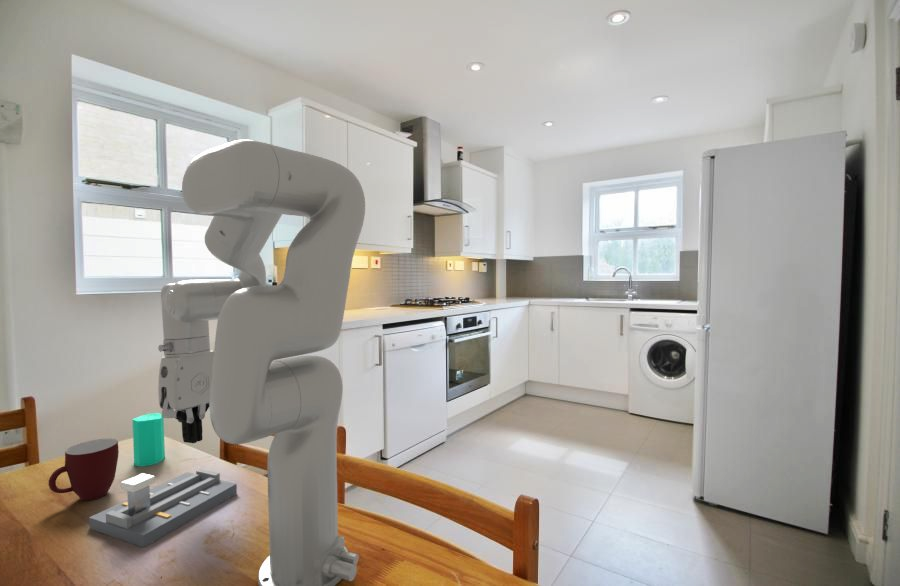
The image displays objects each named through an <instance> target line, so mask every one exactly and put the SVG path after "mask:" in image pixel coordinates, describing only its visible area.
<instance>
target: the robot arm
mask: <svg viewBox="0 0 900 586" xmlns="http://www.w3.org/2000/svg"><path fill="white" fill-rule="evenodd" d="M181 193H182V198H183V200H184V203H185V204H186V206H187V207H188V209H189V210H191V211H192V212H194V213H196V214H198V215H199V214H200V215H204V216H213V217H212V219H211V222H210V223H209V225H208V228H207V230H206V232H205V233H204V234H205V235H204V245H205V246H206V248H207V250H208V252H209V253H210V254H211V255H212V256H214V258H216V259H217V260H219V261H221V262H222V263H224V264H227V265H228V266H230V267H232V268H235V269H237V270H239V271H240V273H239V274H238V276H237V277H236V278H234V279H233V278H231V279H230V278H226V279H224V278H222V279H188V280H186V279H185V280H180V281H176V282H172V283H167V284H164V285H163V286H162V288H161V291H160V299H161V301H160V303H161V317H162V331H163V340H162V341H163V343H162V344H159V345H158V351H159V352H160V353H163V354H164V356H162V357H161V360H160V365H159V371H158V389H157V390H158V392H157V393H158V394H157V395H158V403H159V408H160V409H162V410H161V411H162V412H161V414H162V417H163V418H164V419H176V420H177V421H178V422H179V423H181V432H182V433H181V435H182V440H183V442H184V443H189V444H196V443H197V442H201V441H203V420H204V419H205V417H206V413H207V411H208V410H209V417H210V418H209V419H210V423H211V426H212V429H213V431H214V432H215V434H216V436H217V437H218V438H219V439H220V440H221V441H223V442H225V443H227V444H231V445H242V444H243V445H244V444H247V443H251V442H255V441H258V440H262V439H266V438H268V437H270V436H273V435H274V436H273V438H272V440H271V443H270V446H269V450H268V453H267V463H266V464H267V465H266V467H267V470H266V472H267V497H268V498H267V499H268V501H267V503H268V504H267V505H268V506H267V507H268V536H269V537H268V540H269V546H268V547H269V556H266V559H265V560H264V561H262V563H261V566H260V567H259V570H258V575H257V576H258V577H257V582H258V586H336V585H337V584H338V583H340V582H341V580H345V581H348V582H353V580H355V578H356V575H357V572H358V566H357V564H358V562H359V558H360V556H359V555H360V554H358V553H355V552H351V551H348V548H347V547H346V546H345V537H344V536H340V535H339V524H338V523H339V520H338V517H339V515H338V513H339V511H338V472H337V471H338V470H337V469H338V466H337V465H338V464H337V463H338V462H337V461H338V457H337V456H338V454H337V452H338V451H337V448H338V447H337V446H338V445H337V441H338V439H337V437H338V423H339V416H340V410H341V405H342V399H343V385H344V384H343V379H342V376H341V373H340V371H339V368H338V367H337V366H336V364H335V363H334V362H333V361H331V360H330V359H328V358H326V357H323V356H321V355H320V356H319V355H308V354H312V353H317V352H321V351H324V350H327V349H330V348H331V347H332V346H334V345H335V344H336V342H338V339H339V338H340V334H341V332H342V331H341V330H342V326H343V321H344V314H345V309H346V305H347V304H346V303H347V297H348V296H347V295H348V290H349V284H350V279H351V278H350V277H351V272H352V270H351V269H352V262H353V258H354V255H355V251H356V248H357V244H358V241H359V238H360V237H361V236H360V235H361V232H362V229H363V225H364V220H365V217H366V216H365V215H366V199H365V198H366V197H365V193H364V189H363V186H362V184H361V182H360V180H359V179H358V178H357V176H356V175H355V174H354V173H353V172H352V170H350V169H348V168H347V167H345V166H344V165H342V164H340V163H337V162H336V161H333V160H330V159H327V158H324V157H321V156H318V155H314V154H310V153H307V152H302V151H299V150H293V149H289V148H286V147H282V146H279V145H274V144H270V143H267V142H263V141H257V140H252V139H238V140H237V139H236V140H233V141H231V142H227V143H224V144H222V145H218V146H215V147H212V148H209V149H207V150H205V151H203V152H200V154H198V155H197V156H195V157H194V158H193V159H192V160H191V161H190V163H189V164H188V166H187V167H186V170H185V172H184V175H183V176H182V183H181ZM283 215H286V216H299V217H305V218H307V219H309V221H308V222H307V223H306V224H305V225H304V226H303V227H302V228H301V229H300V230H299V231H298V233H297V234H295V237H294V239H293V240H291V241H292V242H291V243H290V245H289V247H288V250H287V253H286V259H285V268H284V273H283V278H282V280H281V281H280V283H279V284H278V285H276V284H273V285H266V281H267V274H266V273H267V272H266V267H265V263H264V261H263V259H262V257H261V255H260V253H261V252H262V250H263V248H264V247H265V245H266V243H267V241H268V240H269V238H270V236H271V234H272V232H273V231H274V230H275V227H277V226H276V225H277V224H278V223H279V221H280V219H281V218H282V216H283ZM215 320H216V321H217V323H216V329H215V338H214V346H213V347H214V349H213V350H211V343H210V341H211V340H210V323H209V322H210V321H215Z"/></svg>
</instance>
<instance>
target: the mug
mask: <svg viewBox="0 0 900 586" xmlns="http://www.w3.org/2000/svg"><path fill="white" fill-rule="evenodd" d="M64 456H65V457H64V465H63V466H61V467H59V468H56V469H55V470H54V471H53V472H52V474H51V475H50V477H49V479H48V487H49V489H50V490H51V491H52V492H53V493H55V494H66V493H71V492H73V493H74V494H75V495H76V496H77V497H78V498H79V499H81V500H82V501H84V502H85V501H86V502H89V501H94V500H98V499H100V498H103V497H105V496H106V495H107V493H108V492H109V490H110V489H111V486H112V485H113V483H114V481H115V477H116V472H117V466H118V461H119V441H118V440H117V439H115V438H100V439H99V438H98V439H92V440H88V441H85V442H80V443H78V444H75V445H73V446H71V447H69V448H67V449H66V450H65V452H64ZM63 473H66V474H67V477H68V481H69V483H70V487H66V488H59V487H58V486H57V484H56V483H57V479H58V478H59V476H61V474H63Z"/></svg>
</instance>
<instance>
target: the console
mask: <svg viewBox="0 0 900 586" xmlns="http://www.w3.org/2000/svg"><path fill="white" fill-rule="evenodd" d="M220 475H221V474H220V473H219V472H216V471H210V470H207V469H202V468H200V469H198V470H196V472H195V473H192V472H189V471H188V472H184V473H183V474H182V473H181V475H178V476H176V477H174V478H172V479H170V480H167V481H165V482H163V483H161V484H159V485H157V486H154V487H152V488H149V489H150V508H148V509H146V510H144V511H142V512H140V513H138V514H136V515H134V516H132V515H128V499H126V500H124V501H122V502H120V503H117V504H115V505H113V506H111V507H109V508H107V509H105V510H102V511H100V512H98V513H96V514H93V515H92V516H89V517H88V523H89V525H88V526H89V527H88V528H89V530H92V531H95V532H98V533H101V534H104V535H107V536H109V537H112V538H114V539H118V540H120V541H124V542H127V543H129V544H132V545H134V546H135V545H136V546H139V547H141V548H145V547H147V546H148V545H150V544H152V543H154V542H156V541H157V540H158V539H161V538H162V537H164V536H166V535H168V534H170V533H171V532H173V531H174V530H176V529H179V528H180V527H181V526H183V525H185V524H187V523H189V522H190V521H192V520H193V519H196V518H197V517H199V516H200V515H203V514H204V513H206V512H207V511H209V510H212V508H214V507H216V506H218V505H221V504H222V503H223V502H225V501H226V500H228V499H230V498H232V497H233V496H235V495H236V494H238V492H237V491H238V490H237V489H238V487H237V483H235V482H230V481H227V480H222V479H221V476H220Z"/></svg>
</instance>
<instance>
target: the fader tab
mask: <svg viewBox="0 0 900 586" xmlns="http://www.w3.org/2000/svg"><path fill="white" fill-rule="evenodd" d="M155 483H156V477H155V475H152V474H147V473H144V472H141V473H139V474H137V475H134V476H132V477H130V478H128V479H125V480H122V481H121V482H120V489H121V490H124V491H126V492H127V500H128V515H132V516H134V515H136V514H138V513H140V512H142V511H144V510H146V509H148V508H150V489H151V488H150V486H151V485H152V484H153V485H154V484H155Z"/></svg>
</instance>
